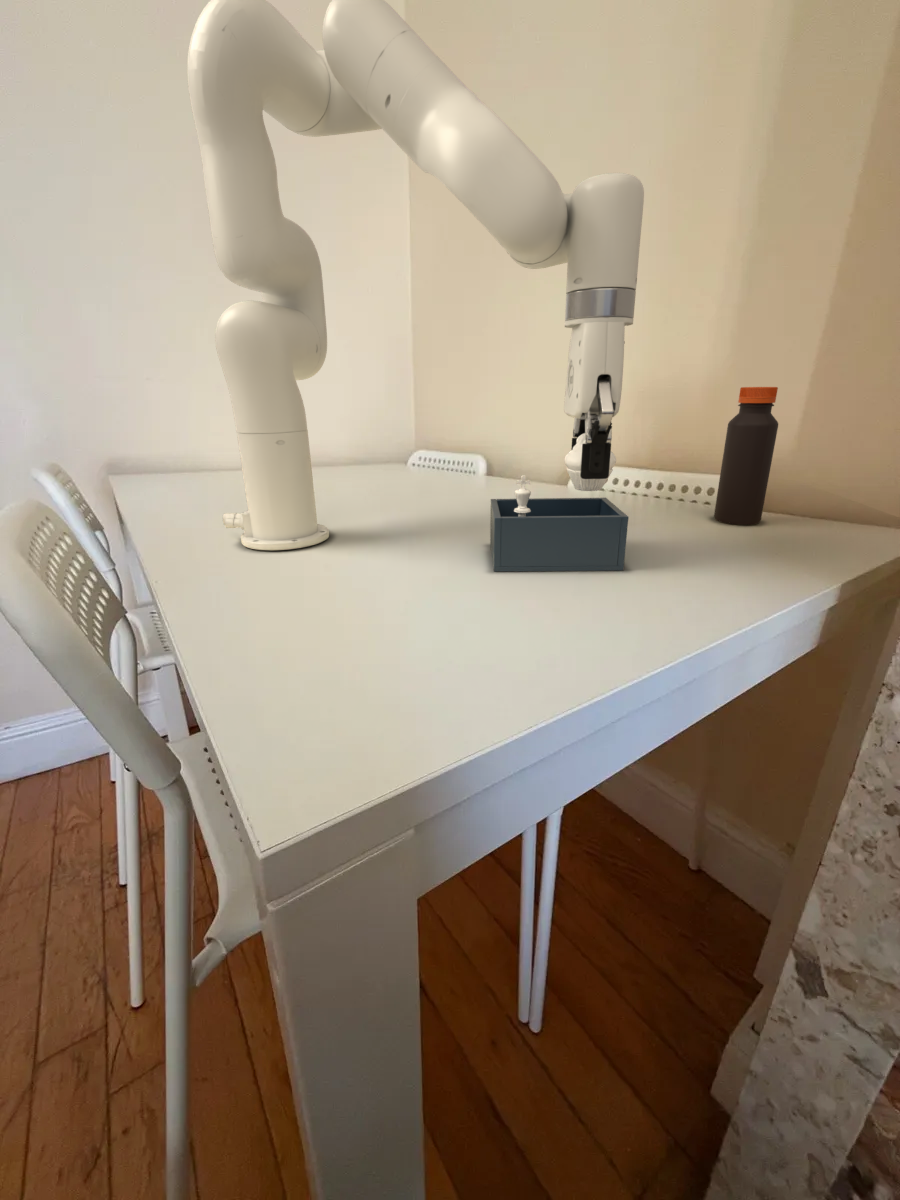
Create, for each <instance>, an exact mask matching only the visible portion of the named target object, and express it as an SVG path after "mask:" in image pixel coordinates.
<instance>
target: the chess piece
mask: <svg viewBox="0 0 900 1200" xmlns="http://www.w3.org/2000/svg"><path fill="white" fill-rule="evenodd" d="M515 485H520V488H518V489H515V491H514V496H515V499H517V503H518V508H515V509H514V512H516V513H518V517H523V516H526V513H529V512H531V510H530V508H527V506H526V505H527V503H528V499H530V498H531V497H530V496H531V493H532V491H531V490H530V489H527V488H526V485H531V480H530V479H526V475H525V474H521V476H520V480H519V479H517V480H515Z"/></svg>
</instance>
